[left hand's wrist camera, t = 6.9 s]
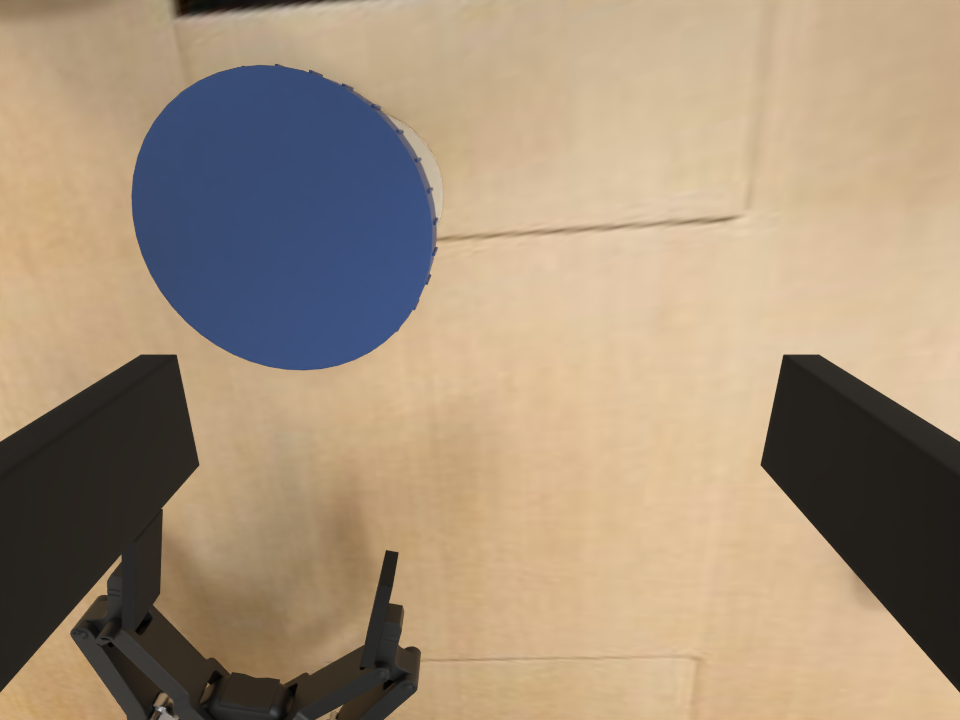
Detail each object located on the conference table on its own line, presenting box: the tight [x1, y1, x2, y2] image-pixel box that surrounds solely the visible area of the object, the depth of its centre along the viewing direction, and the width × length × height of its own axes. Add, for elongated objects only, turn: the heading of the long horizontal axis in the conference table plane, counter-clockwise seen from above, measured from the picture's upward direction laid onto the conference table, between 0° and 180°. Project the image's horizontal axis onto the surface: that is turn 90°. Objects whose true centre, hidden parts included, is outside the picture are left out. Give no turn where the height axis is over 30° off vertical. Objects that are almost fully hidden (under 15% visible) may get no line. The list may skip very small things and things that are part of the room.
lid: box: [132, 64, 438, 370], centre depth 21 cm, size 11×11×2 cm
